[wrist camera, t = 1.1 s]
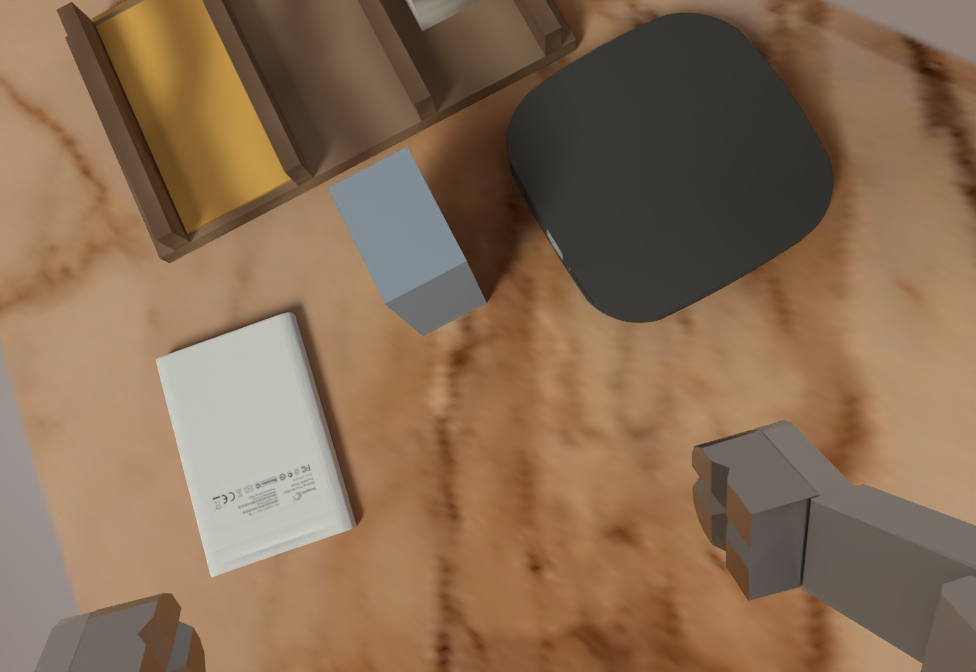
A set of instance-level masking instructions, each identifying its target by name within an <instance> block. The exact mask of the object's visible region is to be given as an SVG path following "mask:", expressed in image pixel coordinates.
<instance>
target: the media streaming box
mask: <svg viewBox="0 0 976 672" xmlns="http://www.w3.org/2000/svg"><path fill="white" fill-rule="evenodd" d="M507 150H508V156H509V163H510V168H511V172H512V175H513V177H514V179H515V181H516V183H517V185H518V187H519V189H520V191H521V192H522V194H523V196H524V198H525V200H526V202H527V204H528V206H529V207H530V209H531V211H532V213H533V215H534V216H535V218H536V220H537V222H538V223H539V225H540V227H541V229H542V230H543V232H544V234H545V235H546V237H547V239H548V240H549V242H550V244H551V245H552V247H553V249H554V250H555V252H556V253H557V255H558V257H559V258H560V260H561V261H562V263H563V265H564V266H565V268H566V269H567V271H568V272H569V274H570V275H571V277H572V278H573V280H574V281H575V283H576V284H577V286H578V287H579V289H580V290H581V292H582V293H583V295H584V296H585V298H586V299H587V300H588V301H589V302H590V303H591V304H592V305H593V306H594V307H595V308H597V309H598V310H599V311H601V312H602V313H604V314H606V315H608V316H610V317H613V318H615V319H618V320H622V321H627V322H634V323H643V322H652V321H657V320H660V319H663V318H665V317H667V316H669V315H671V314H673V313H675V312H677V311H679V310H681V309H683V308H685V307H687V306H689V305H691V304H693V303H695V302H697V301H699V300H701V299H703V298H705V297H707V296H709V295H710V294H712V293H714V292H716V291H718V290H720V289H722V288H723V287H725V286H727V285H729V284H731V283H732V282H734V281H736V280H738V279H739V278H741V277H743V276H745V275H746V274H748V273H750V272H751V271H753V270H755V269H757V268H758V267H760V266H762V265H763V264H765V263H766V262H768V261H770V260H771V259H773V258H775V257H776V256H778V255H779V254H781V253H783V252H784V251H786V250H787V249H789V248H790V247H792V246H793V245H795V244H796V243H798V242H799V241H800V240H802V239H803V238H804V237H805V236H806V235H808V234H809V233H810V232H811V231H812V230H813V229H814V228H815V227H816V226H817V225H818V224H819V223H820V221H821V220H822V218H823V217H824V215H825V213H826V211H827V209H828V207H829V204H830V200H831V196H832V190H833V175H832V168H831V164H830V160H829V157H828V155H827V153H826V151H825V149H824V147H823V146H822V144H821V142H820V140H819V138H818V136H817V135H816V133H815V131H814V129H813V128H812V126H811V124H810V122H809V121H808V119H807V117H806V116H805V114H804V113H803V111H802V109H801V108H800V106H799V105H798V103H797V102H796V100H795V99H794V97H793V96H792V94H791V93H790V91H789V90H788V89H787V87H786V86H785V84H784V83H783V82H782V80H781V79H780V78H779V76H778V75H777V74H776V72H775V71H774V70H773V68H772V67H771V66H770V65H769V63H768V62H767V61H766V60H765V58H764V57H763V56H762V55H761V54H760V53H759V51H758V50H757V49H756V48H755V47H754V46H753V45H752V43H751V42H750V41H749V40H748V39H747V38H746V37H745V36H744V35H743V34H742V33H741V32H740V31H739V30H738V29H737V28H735V27H734V26H732V25H730V24H728V23H726V22H724V21H722V20H720V19H717V18H714V17H711V16H707V15H702V14H695V13H677V14H670V15H666V16H663V17H660V18H658V19H655V20H653V21H651V22H648V23H646V24H644V25H642V26H639V27H637V28H635V29H633V30H631V31H629V32H627V33H625V34H623V35H621V36H619V37H617V38H615V39H613V40H611V41H609V42H607V43H605V44H604V45H602V46H600V47H598V48H596V49H595V50H593V51H591V52H589V53H588V54H586V55H584V56H583V57H581V58H579V59H578V60H576V61H574V62H573V63H571V64H570V65H568V66H566V67H565V68H563V69H562V70H560V71H559V72H557V73H556V74H554V75H553V76H551V77H550V78H549V79H547V80H546V81H544V82H543V83H541V84H540V85H539V86H537V87H536V88H535V89H533V90H532V91H530V92H529V93H528V94H527V95H526V96H525V98H524V99H523V100H522V101H521V103H520V104H519V106H518V107H517V109H516V111H515V112H514V114H513V117H512V119H511V122H510V124H509V129H508V134H507Z"/></svg>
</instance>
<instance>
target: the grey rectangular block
mask: <svg viewBox="0 0 976 672" xmlns="http://www.w3.org/2000/svg"><path fill="white" fill-rule="evenodd" d="M328 189H329V191H330V193H331V195H332V197H333V199H334V201H335V203H336V205H337V207H338V209H339V212H340V214H341V216H342V218H343V220H344V222H345V224H346V226H347V228H348V230H349V232H350V234H351V236H352V238H353V240H354V242H355V244H356V246H357V248H358V250H359V252H360V254H361V256H362V258H363V260H364V262H365V265H366V267H367V269H368V271H369V273H370V275H371V277H372V279H373V281H374V283H375V285H376V287H377V289H378V291H379V293H380V295H381V297H382V299H383V301H384V303H385V304H386V305H387V306H388V307H389V308H390V309H392V310H393V311H394V312H395V313H396V314H398V315H399V316H400V317H401V318H402V319H404V320H405V321H406V322H407V323H408V324H409V325H411V326H412V327H413V328H414V329H415V330H417V331H418V332H419V333H420V334H421V335H423V336H424V335H426V334H428V333H430V332H432V331H434V330H436V329H438V328H440V327H442V326H444V325H446V324H447V323H449V322H451V321H453V320H455V319H457V318H459V317H461V316H463V315H465V314H467V313H469V312H471V311H472V310H474V309H476V308H478V307H480V306H482V305H484V304H486V301H485V298H484V296H483V294H482V292H481V290H480V288H479V286H478V284H477V282H476V279H475V277H474V275H473V273H472V271H471V269H470V267H469V265H468V263H467V260H466V259H465V257H464V255H463V253H462V251H461V249H460V247H459V245H458V243H457V241H456V239H455V238H454V236H453V234H452V232H451V230H450V228H449V226H448V224H447V222H446V220H445V218H444V216H443V215H442V213H441V211H440V209H439V207H438V205H437V203H436V201H435V199H434V197H433V195H432V193H431V192H430V190H429V188H428V186H427V184H426V182H425V180H424V178H423V176H422V174H421V172H420V170H419V169H418V167H417V165H416V163H415V161H414V159H413V157H412V155H411V153H410V151H409V149H408V148H407V147H405V148H403V149H401V150H399V151H398V152H396V153H394V154H392V155H390V156H388V157H386V158H384V159H382V160H380V161H378V162H377V163H375V164H373V165H371V166H369V167H367V168H365V169H363V170H361V171H359V172H357V173H356V174H354V175H352V176H350V177H348V178H346V179H344V180H342V181H340V182H338V183H337V184H335V185H333V186H331V187H329V188H328Z"/></svg>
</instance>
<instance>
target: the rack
mask: <svg viewBox="0 0 976 672" xmlns="http://www.w3.org/2000/svg"><path fill="white" fill-rule="evenodd" d="M57 12H58V14H59V17H60V19H61V21H62V24H63V26H64V28H65V31H66V33H67V35H68V36H67V37H65V38H66V40H67V43H68V45H69V47H70V50H71V52H72V54H73V57H74V59H75V61H76V64H77V66H78V68H79V71H80V73H81V75H82V78H83V80H84V82H85V85H86V87H87V89H88V92H89V94H90V96H91V99H92V101H93V103H94V106H95V108H96V110H97V113H98V115H99V117H100V120H101V122H102V124H103V127H104V129H105V131H106V134H107V136H108V138H109V141H110V143H111V145H112V148H113V150H114V152H115V155H116V157H117V159H118V162H119V164H120V166H121V169H122V171H123V173H124V176H125V178H126V180H127V183H128V185H129V187H130V190H131V192H132V194H133V197H134V199H135V201H136V204H137V206H138V208H139V211H140V213H141V215H142V218H143V220H144V222H145V225H146V227H147V229H148V232H149V234H150V236H151V239H152V241H153V243H154V246H155V248H156V250H157V253H158V255H159V257H160V259H162V260H164V261H166V262H168V263H170V262H172V261H174V260H176V259H178V258H180V257H182V256H184V255H186V254H188V253H189V252H191V251H193V250H195V249H197V248H199V247H201V246H203V245H205V244H207V243H209V242H210V241H212V240H214V239H216V238H218V237H220V236H222V235H224V234H226V233H228V232H229V231H231V230H233V229H235V228H237V227H239V226H241V225H243V224H245V223H247V222H249V221H250V220H252V219H254V218H256V217H258V216H260V215H262V214H264V213H266V212H268V211H269V210H271V209H273V208H275V207H277V206H279V205H281V204H283V203H285V202H287V201H289V200H290V199H292V198H294V197H296V196H298V195H300V194H302V193H304V192H306V191H308V190H309V189H311V188H313V187H315V186H317V185H319V184H321V183H323V182H325V181H327V180H329V179H330V178H332V177H334V176H336V175H338V174H340V173H342V172H344V171H346V170H348V169H349V168H351V167H353V166H355V165H357V164H359V163H361V162H363V161H365V160H367V159H369V158H370V157H372V156H374V155H376V154H378V153H380V152H382V151H384V150H386V149H388V148H389V147H391V146H393V145H395V144H397V143H399V142H401V141H403V140H405V139H407V138H409V137H410V136H412V135H414V134H416V133H418V132H420V131H422V130H424V129H426V128H428V127H429V126H431V125H433V124H435V123H437V122H439V121H441V120H443V119H445V118H447V117H449V116H450V115H452V114H454V113H456V112H458V111H460V110H462V109H464V108H466V107H468V106H469V105H471V104H473V103H475V102H477V101H479V100H481V99H483V98H485V97H487V96H489V95H490V94H492V93H494V92H496V91H498V90H500V89H502V88H504V87H506V86H508V85H509V84H511V83H513V82H515V81H517V80H519V79H521V78H523V77H525V76H527V75H529V74H530V73H532V72H534V71H536V70H538V69H540V68H542V67H544V66H546V65H548V64H549V63H551V62H553V61H555V60H557V59H559V58H561V57H563V56H565V55H567V54H569V53H570V52H572V51H574V50H576V43H577V39H576V38H575V36H574V34H573V33H572V31H571V29H570V28H569V26H568V24H567V23H566V21H565V19H564V18H563V16H562V14H561V13H560V11H559V9H558V8H557V6H556V4H555V2H554V1H553V0H126V1H124V2H122V3H120V4H118V5H117V6H115V7H113V8H111V9H109V10H107V11H105V12H103V13H101V14H100V15H98V16H96V17H94V18H92V20H93V21H92V20H91V19H90V18H88V17H87V16H86V15H85V14H84V13H83V12H82V11H81V10H80V9H79V8H78V7H76V6H75V5H74V4H73V3H72V2H71V3H69V4H67V5H65V6H63V7H61V8H59V9H57Z"/></svg>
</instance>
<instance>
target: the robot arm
mask: <svg viewBox="0 0 976 672" xmlns="http://www.w3.org/2000/svg"><path fill="white" fill-rule="evenodd" d="M692 466H693V468H694V469H695V471H696V472H697V474H698V475H699V476H700V477H699V478H698V479H697V481H696V482H695V484H694V485H693V501H694V506H695V510H696V513H697V517H698V520H699V522H700V524H701V526H702V528H703V531H704V532H705V534H706V536H707V537H708V539H709V541H710V542H711V544H712V545H714V546H716V547H718V548H720V549H722V550H724V551H726V567H727V569H728V570H729V572H730V573H731V575H732V576H733V578H734V579H735V581H736V582H737V584H738V585H739V587H740V588H741V590H742V592H743V593H744V595H745V596H746V598H747V599H748V601H749V600H753V599H757V598H760V597H764V596H768V595H772V594H775V593H779V592H783V591H787V590H790V589H794V588H798V587H801V586H802V589H803V590H804V591H806V592H808V593H809V594H811V595H812V596H814V597H816V598H817V599H819V600H820V601H822V602H824V603H825V604H827V605H829V606H830V607H832V608H833V609H835V610H837V611H838V612H840V613H842V614H843V615H845V616H846V617H848V618H850V619H851V620H853V621H855V622H856V623H858V624H859V625H861V626H863V627H864V628H866V629H868V630H869V631H871V632H872V633H874V634H876V635H877V636H879V637H881V638H882V639H884V640H885V641H887V642H889V643H890V644H892V645H894V646H895V647H897V648H898V649H900V650H902V651H903V652H905V653H907V654H908V655H910V656H911V657H913V658H915V659H916V660H918V661H919V662H921V663H923V665H922V669H921V672H976V526H975V525H972V524H970V523H967V522H964V521H961V520H959V519H956V518H953V517H951V516H948V515H945V514H943V513H940V512H937V511H935V510H932V509H929V508H927V507H924V506H921V505H918V504H916V503H913V502H910V501H908V500H905V499H902V498H900V497H897V496H894V495H892V494H889V493H886V492H883V491H881V490H878V489H875V488H873V487H870V486H867V485H865V484H862V485H858V486H853V485H852V484H851V483H850V482H849V481H848V480H847V479H846V478H845V477H844V476H843V475H842V474H841V473H840V472H839V471H838V470H837V469H836V468H835V467H834V466H833V465H832V464H831V463H830V462H829V461H828V460H827V458H826V457H825V456H824V455H823V454H822V453H821V452H820V451H819V450H818V449H817V448H816V447H815V446H814V445H813V444H812V443H811V442H810V441H809V440H808V439H807V438H806V437H805V436H804V435H803V434H802V433H801V432H800V431H799V430H798V429H797V428H796V427H795V426H794V425H793V424H792V423H790V422H788V421H785V420H783V421H780V422H776V423H773V424H770V425H766V426H763V427H759V428H756V429H754V430H749V431H746V432H742V433H739V434H735V435H732V436H728V437H725V438H721V439H718V440H714V441H711V442H707V443H704V444H700V445H697V446H694V449H693V452H692ZM180 612H181V607H180V605H179V604H178V602H177V601H176V599H175V598H174V597H173V595H172V594H169V593H162V594H158V595H154V596H150V597H146V598H142V599H138V600H135V601H131V602H127V603H123V604H119V605H115V606H111V607H107V608H103V609H99V610H96V611H94V612H90V613H86V614H82V615H78V616H74V617H70V618H66V619H62V620H60V621H59V622H58V623H57V624H56V625H55V626H54V627H53V628H52V630H51V632H50V634H49V637H48V639H47V642H46V645H45V647H44V649H43V652H42V654H41V657H40V659H39V661H38V664H37V666H36V669H35V671H34V672H206V670H205V656H204V650H203V647H202V644H201V641H200V638H199V636H198V634H197V633H196V631H195V629H194V628H193V627H191V626H189V625H187V624H184V623H182V622H179V617H180Z"/></svg>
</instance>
